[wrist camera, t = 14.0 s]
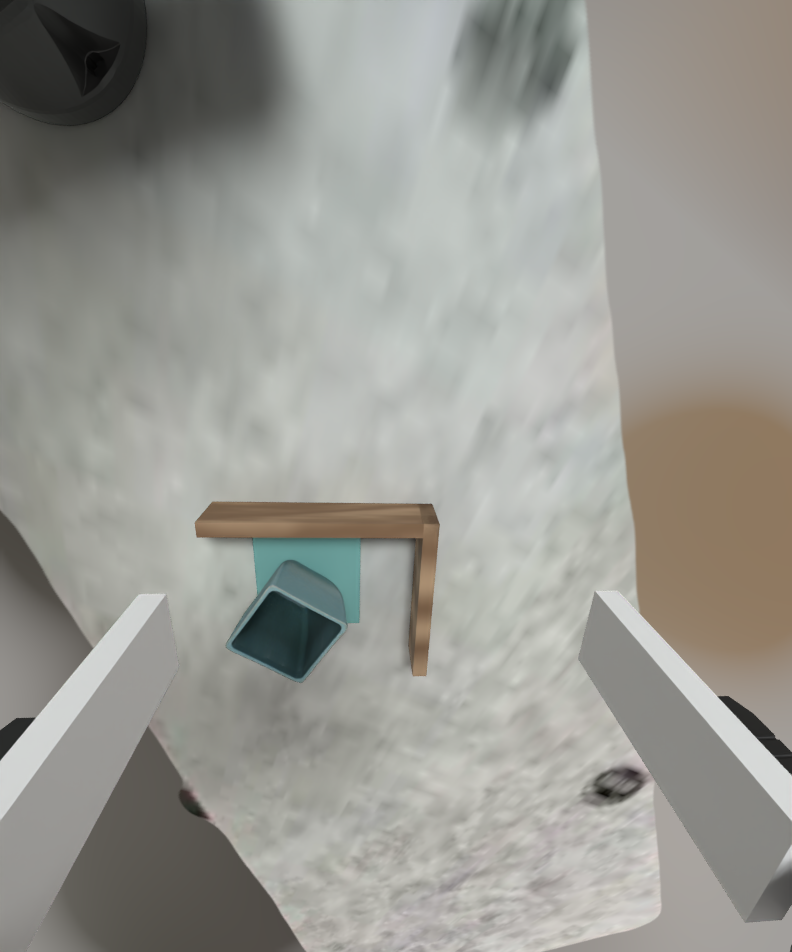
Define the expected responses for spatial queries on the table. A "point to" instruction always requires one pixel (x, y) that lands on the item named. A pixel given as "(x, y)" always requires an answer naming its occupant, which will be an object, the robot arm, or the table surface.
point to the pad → (315, 563)
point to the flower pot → (291, 622)
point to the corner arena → (344, 524)
